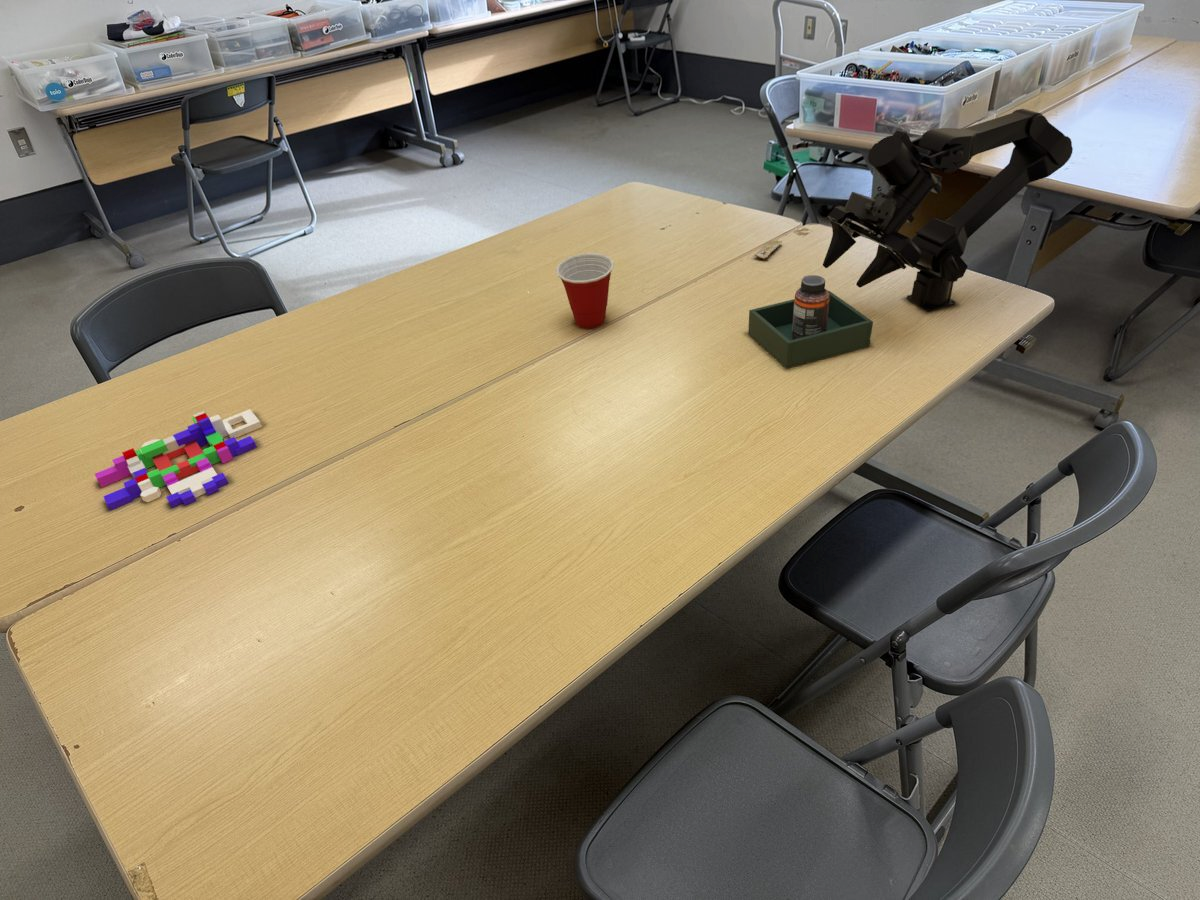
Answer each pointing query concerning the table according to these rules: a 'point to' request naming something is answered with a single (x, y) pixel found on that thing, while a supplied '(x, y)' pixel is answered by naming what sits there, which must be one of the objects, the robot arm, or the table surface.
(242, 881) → the table surface
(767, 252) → the snack bar
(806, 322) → the supplement bottle
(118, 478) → the building block set
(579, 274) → the plastic cup
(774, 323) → the bin
